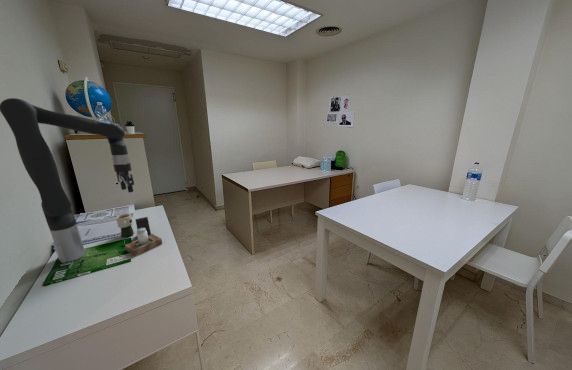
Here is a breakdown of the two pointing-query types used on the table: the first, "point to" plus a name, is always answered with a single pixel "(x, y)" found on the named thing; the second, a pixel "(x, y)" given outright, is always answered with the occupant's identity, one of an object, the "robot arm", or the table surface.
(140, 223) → the phone stand
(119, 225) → the character mug
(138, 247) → the wooden frame
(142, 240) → the white rounded cylinder
